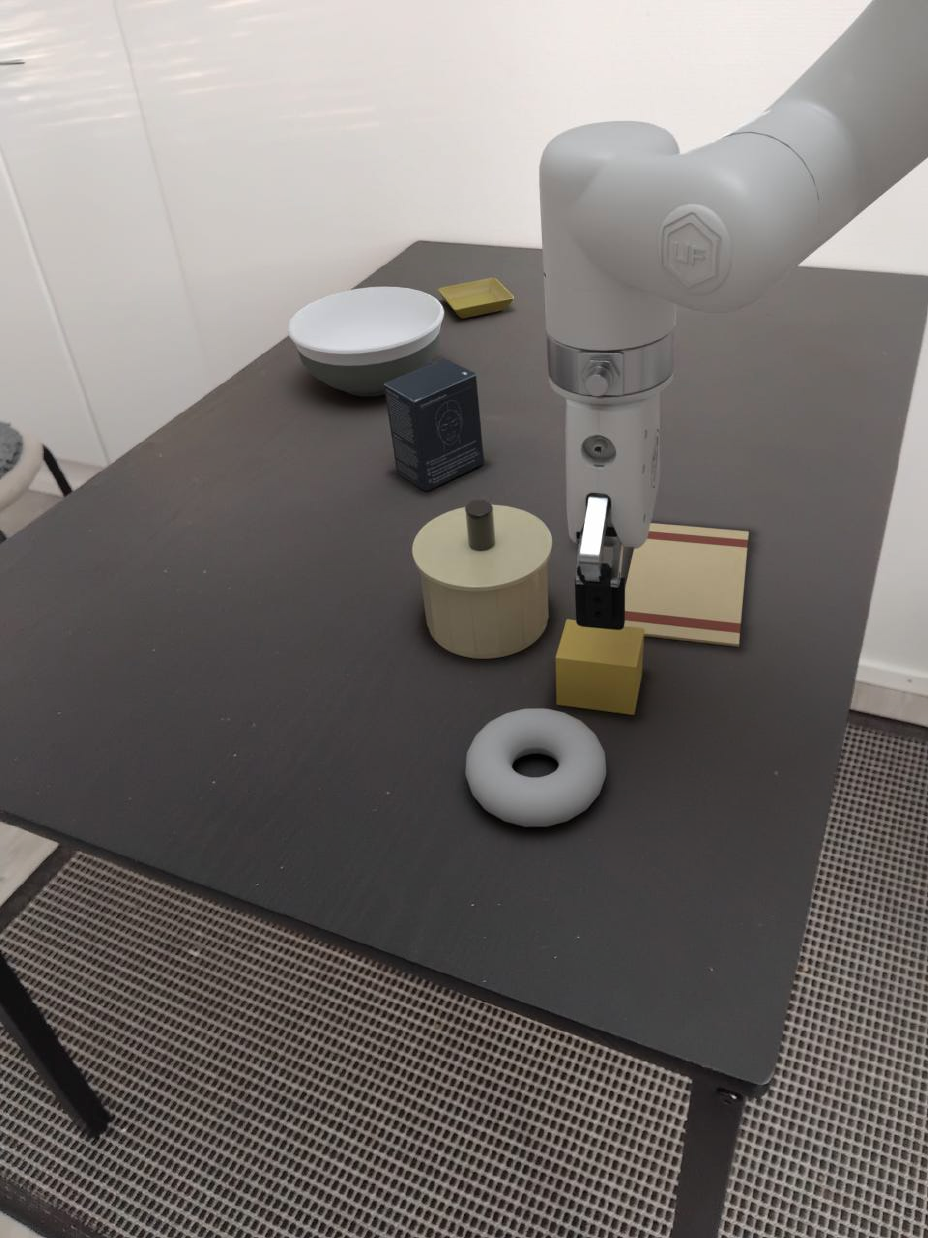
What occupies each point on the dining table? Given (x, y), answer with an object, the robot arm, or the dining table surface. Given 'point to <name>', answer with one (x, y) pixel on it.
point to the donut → (535, 795)
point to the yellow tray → (477, 297)
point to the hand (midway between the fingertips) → (611, 582)
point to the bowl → (367, 336)
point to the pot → (487, 617)
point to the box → (435, 423)
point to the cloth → (688, 584)
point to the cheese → (599, 668)
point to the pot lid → (482, 547)
